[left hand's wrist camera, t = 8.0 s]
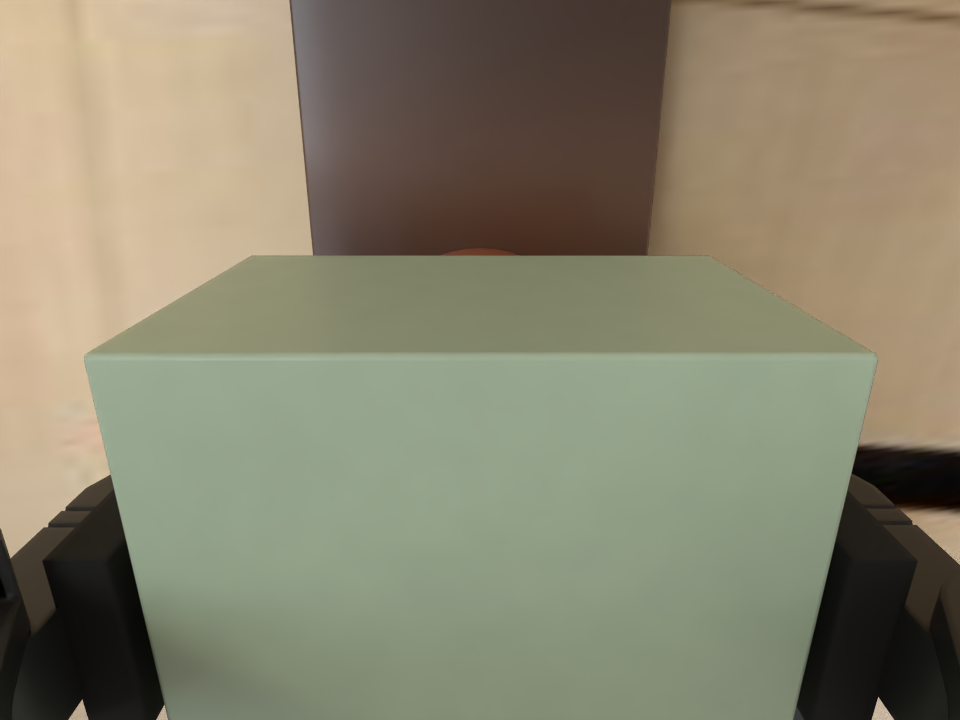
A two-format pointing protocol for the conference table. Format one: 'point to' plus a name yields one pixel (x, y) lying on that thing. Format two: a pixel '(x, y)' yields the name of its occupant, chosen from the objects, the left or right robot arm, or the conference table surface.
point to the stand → (480, 125)
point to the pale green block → (480, 487)
